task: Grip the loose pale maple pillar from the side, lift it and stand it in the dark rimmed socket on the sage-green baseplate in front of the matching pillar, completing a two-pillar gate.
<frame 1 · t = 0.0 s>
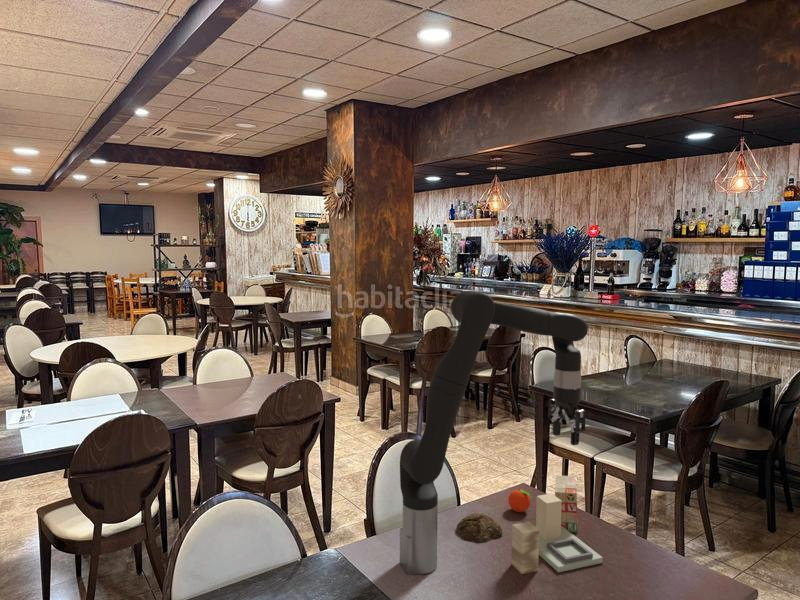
hand: (565, 439, 161), 29 cm above the table, tool pointing down, fingers open, 8 cm apart
maple pillar: (524, 567, 148), on the table
stack of blocks: (567, 517, 177), on the table, touching baseplate
bread roll: (477, 533, 166), on the table
clementine: (520, 512, 179), on the table
baseplate: (558, 548, 157), on the table
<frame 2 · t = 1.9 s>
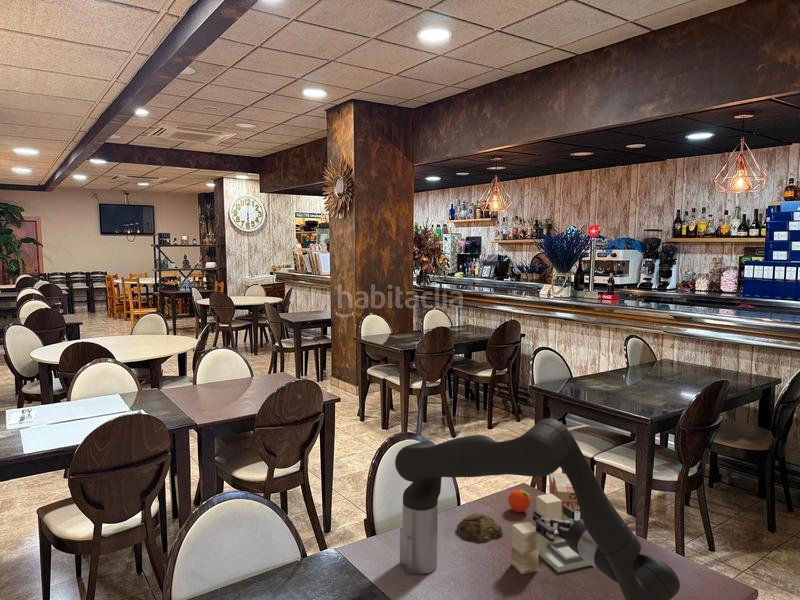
hand: (549, 511, 137), 20 cm above the table, tool horizontal, fingers open, 8 cm apart
stack of blocks: (562, 514, 178), on the table, touching baseplate
everything else where it was.
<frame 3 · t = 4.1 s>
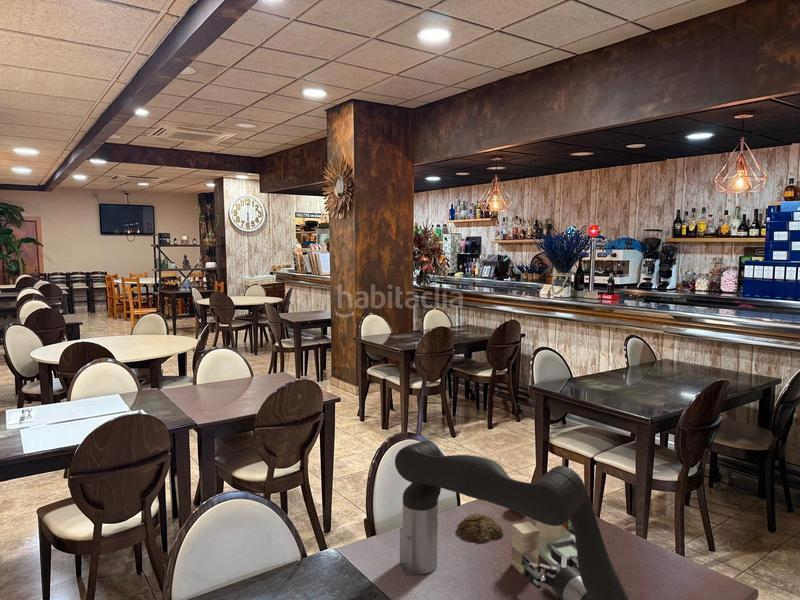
hand: (537, 555, 142), 6 cm above the table, tool horizontal, fingers open, 8 cm apart
nothing on the table moved.
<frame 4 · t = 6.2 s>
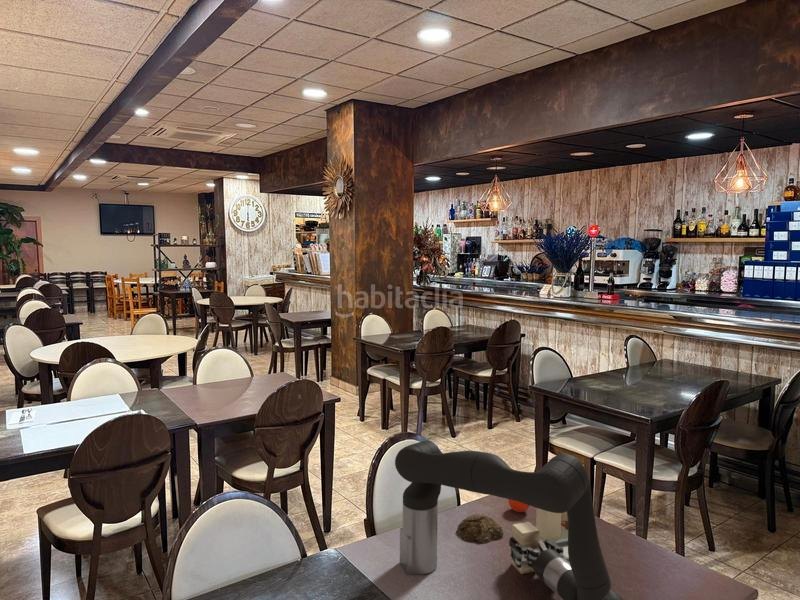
hand: (519, 538, 150), 7 cm above the table, tool horizontal, fingers closed on maple pillar, 5 cm apart
maple pillar: (524, 567, 148), on the table, touching gripper
everything else where it was.
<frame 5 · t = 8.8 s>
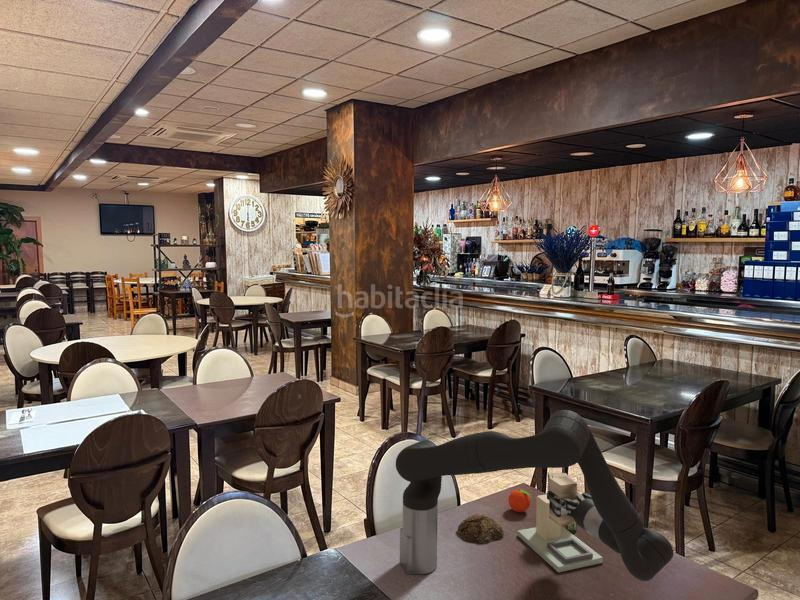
hand: (557, 492, 152), 18 cm above the table, tool horizontal, fingers closed on maple pillar, 5 cm apart
maple pillar: (562, 520, 150), point 11 cm above the table, touching gripper
everything else where it was.
when the fingers open (10 cm above the table, at t = 11.5 s): maple pillar drops 2 cm, resting on baseplate.
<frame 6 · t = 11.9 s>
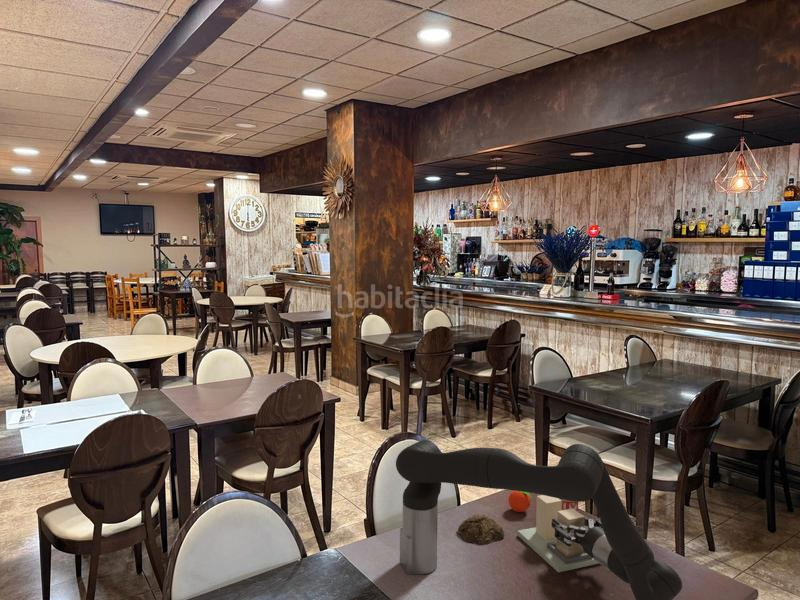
hand: (566, 519, 153), 10 cm above the table, tool horizontal, fingers open, 8 cm apart
maple pillar: (569, 552, 152), point 2 cm above the table, touching baseplate
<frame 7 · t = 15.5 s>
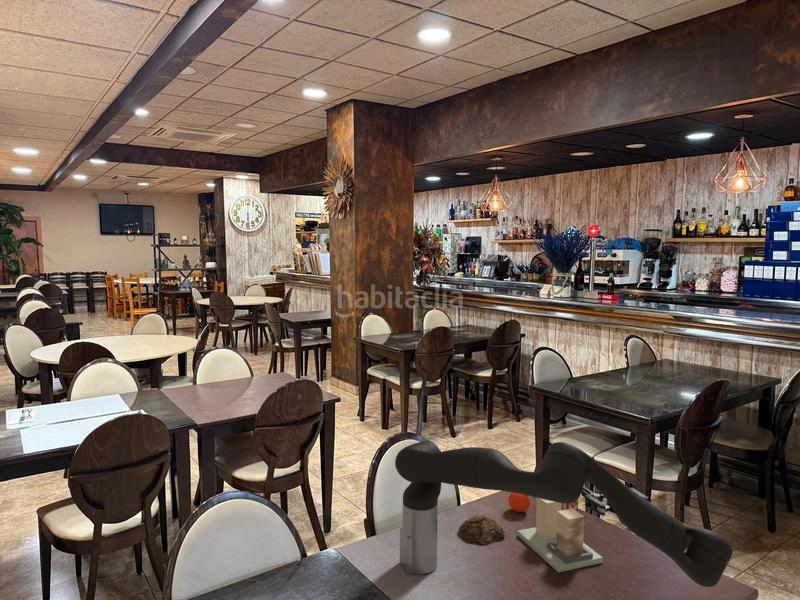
hand: (596, 488, 141), 24 cm above the table, tool horizontal, fingers open, 8 cm apart
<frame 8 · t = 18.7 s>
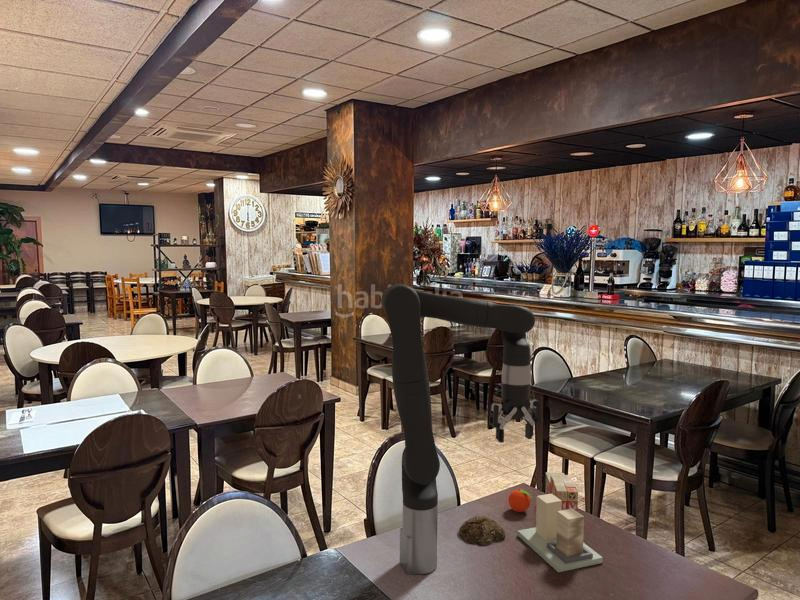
hand: (514, 440, 149), 33 cm above the table, tool pointing down, fingers open, 8 cm apart
at the end: maple pillar 0.0 cm from the target spot on the baseplate, point 1.5 cm above the baseplate's base; maple pillar tilted 0°; the gripper is holding nothing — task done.
